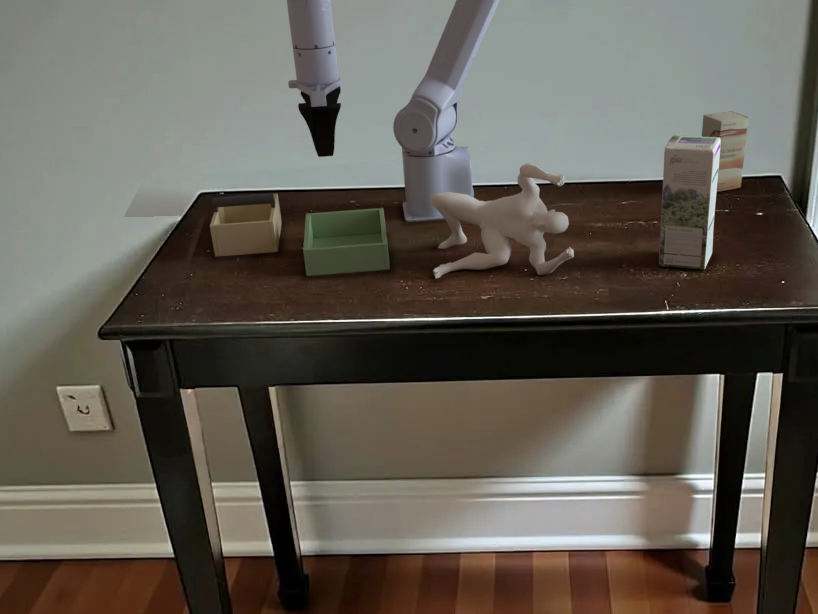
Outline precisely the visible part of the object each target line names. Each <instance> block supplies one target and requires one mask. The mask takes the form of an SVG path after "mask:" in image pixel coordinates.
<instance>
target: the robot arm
mask: <svg viewBox="0 0 818 614" xmlns="http://www.w3.org/2000/svg"><path fill="white" fill-rule="evenodd" d="M500 1H501V0H455V2H454V5H453V7H452V10H451V12H450V14H449V17H448V20H447V22H446V24H445V26H444V29H443V31H442V34H441V36H440V39H439V40H438V43H437V46H436V47H435V51H434V53H433V55H432V58H431V59H430V61H429V62H430V63H429V65H428V67H427V70H426V72H425V74H424V76H423V78H422V79H421V81H420V82H419V83H418V85H417V87H416V88H415V90H414V91H413V93H412V95H411V97H410V100H409V101H408V103H407V104H406V105H405V106H404V107H402V108H401V109H400V110H399V111H398V112H397V113H396V115H395V117H394V120H393V126H392V128H393V134H394V137H395V140H396V141H397V144H398V145H399V146H400V147H401V155H402V168H403V180H404V181H403V182H404V194H405V195H404V196H405V202H403V203H402V209H403V215H404V220H405V222H408V223H410V222H420V221H421V222H422V221H434V220H445V219H444V217H443V216H442V215H441V213H440V212H439V211H438V210H437V209H436V208H435V207H434V206H432V204H431V203H430V198H431V196H432V195H433V193H445V192H453V193H460V194H466V195H469V196H471V197H473V198H475V192H474V187H473V173H472V172H473V171H472V159H471V152H470V149H469V147H468V146H464V145H463V146H460V145H459V146H458V145H455V139H454V137H453V134H452V132H454V130H455V129H456V128H457V125H458V122H459V106H460V105H459V104H460V102H461V100H462V97H463V85H464V83H465V80H466V79H467V76H468V74H469V72H470V69H471V67H472V65H473V62H474V60H475V57H476V55H477V53H478V51H479V49H480V47H481V45H482V42H483V39H484V37H485V35H486V33H487V30H488V28H489V26H490V24H491V21H492V19H493V17H494V15H495V13H496V10H497V7H498V6H499V3H500ZM286 6H287V13H288V22H289V29H290V30H289V32H290V38H291V46H292V53H293V61H294V69H295V77H296V79H292V80H288V82H287V84H288V88H289V89H297V90H299V91H300V96H301V98H302V99H303V101H304V102H299V103H298V105H297V108H298V112H299V113H300V115H301V116H302V118H303V119H304V121H305V123H306V126H307V128H308V130H309V133H310V136H311V140H312V143H313V146H314V150H315V152H316V155H317V157H318V158H323V157H333V156H334V153H335V144H336V143H335V141H336V140H335V139H336V125H337V120H338V116H339V114H340V111H341V107H342V103H341V102H339V101H338V100H339V97H340V94H341V92H342V91H341V85H342V79H341V77H340V74H339V65H338V56H337V55H338V54H337V47H336V46H337V45H336V37H335V27H334V26H335V25H334V18H333V9H332V0H286Z"/></svg>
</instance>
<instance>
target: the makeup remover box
mask: <svg viewBox="0 0 818 614" xmlns="http://www.w3.org/2000/svg"><path fill="white" fill-rule="evenodd" d="M748 126H749V116H747V115H744V114H741V113H738V112H735V111H733V110H729V111H720V112H719V111H718V112H713V113H707V114H703V115H702V127H701V128H702V129H701V137H719V138H720V139H721V145H720V158H719V170H718V180H717V191H716V193H717V192H718V193H719V192H724V191H729V190H735V189H740V188H741V187H742V179H743V171H744V161H745V153H746V143H747V136H748V135H747V134H748Z"/></svg>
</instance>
